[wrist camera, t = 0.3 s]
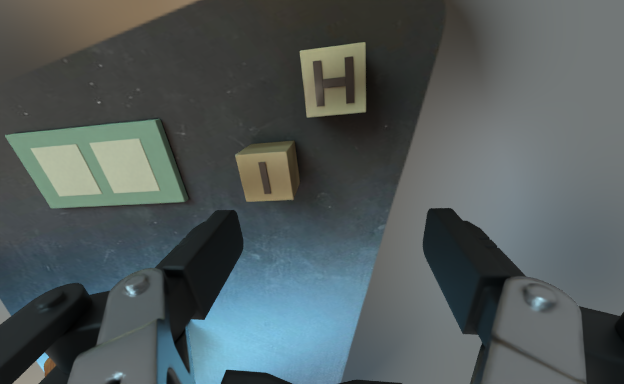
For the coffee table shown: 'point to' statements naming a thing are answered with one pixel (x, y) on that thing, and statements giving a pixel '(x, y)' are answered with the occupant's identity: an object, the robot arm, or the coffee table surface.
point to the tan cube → (269, 171)
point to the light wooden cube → (334, 79)
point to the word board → (101, 164)
